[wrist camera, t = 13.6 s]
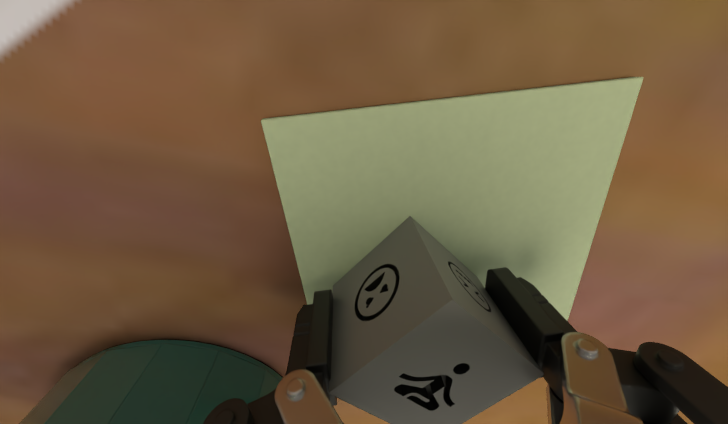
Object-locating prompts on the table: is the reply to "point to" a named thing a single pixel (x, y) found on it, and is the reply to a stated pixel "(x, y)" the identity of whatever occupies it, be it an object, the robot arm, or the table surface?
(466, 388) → the dice cube
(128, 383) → the pot
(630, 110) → the placemat
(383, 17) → the table surface
